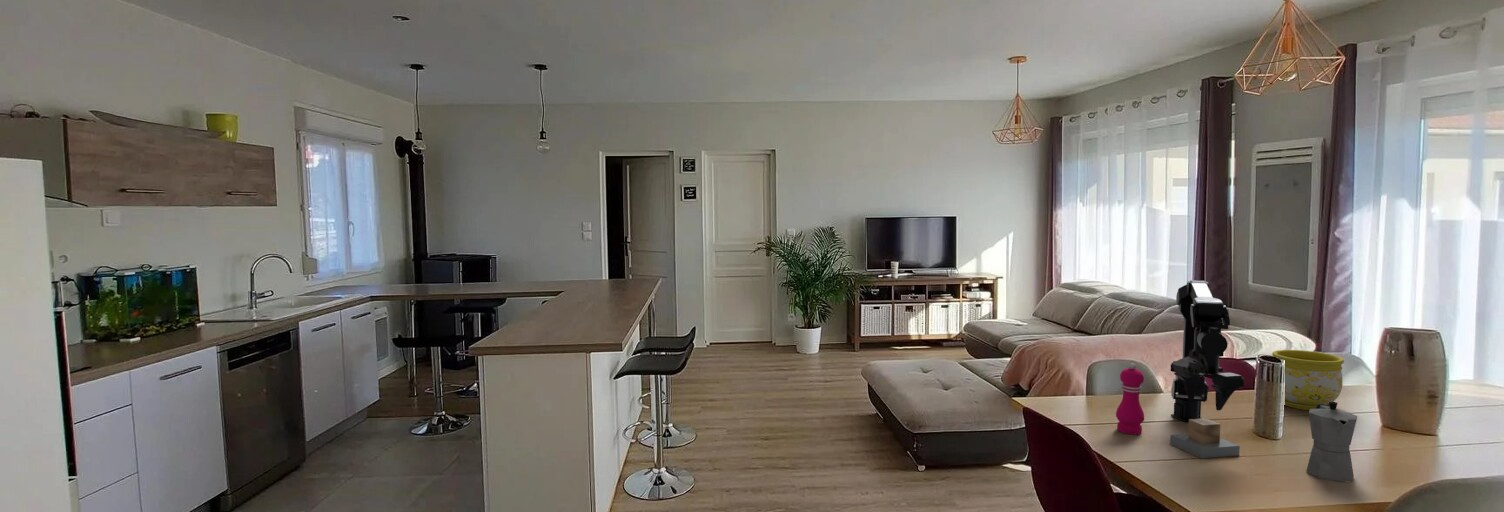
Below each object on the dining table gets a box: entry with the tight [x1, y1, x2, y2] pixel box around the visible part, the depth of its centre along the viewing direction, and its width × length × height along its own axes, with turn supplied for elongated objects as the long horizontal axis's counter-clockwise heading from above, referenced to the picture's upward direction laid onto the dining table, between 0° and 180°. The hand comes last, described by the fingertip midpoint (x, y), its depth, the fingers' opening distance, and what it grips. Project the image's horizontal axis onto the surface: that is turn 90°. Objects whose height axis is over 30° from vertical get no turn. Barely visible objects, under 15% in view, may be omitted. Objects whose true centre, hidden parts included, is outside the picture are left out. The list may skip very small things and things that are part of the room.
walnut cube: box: [1187, 417, 1221, 444], centre depth 186 cm, size 5×5×5 cm
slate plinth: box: [1169, 433, 1241, 459], centre depth 186 cm, size 11×11×2 cm
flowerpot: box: [1271, 349, 1345, 411], centre depth 224 cm, size 18×18×16 cm
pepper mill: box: [1115, 362, 1145, 435], centre depth 200 cm, size 7×7×20 cm
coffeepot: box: [1305, 401, 1358, 483], centre depth 168 cm, size 15×9×18 cm, turn 159°
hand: (1204, 405), depth 186 cm, fingers open, 9 cm apart
